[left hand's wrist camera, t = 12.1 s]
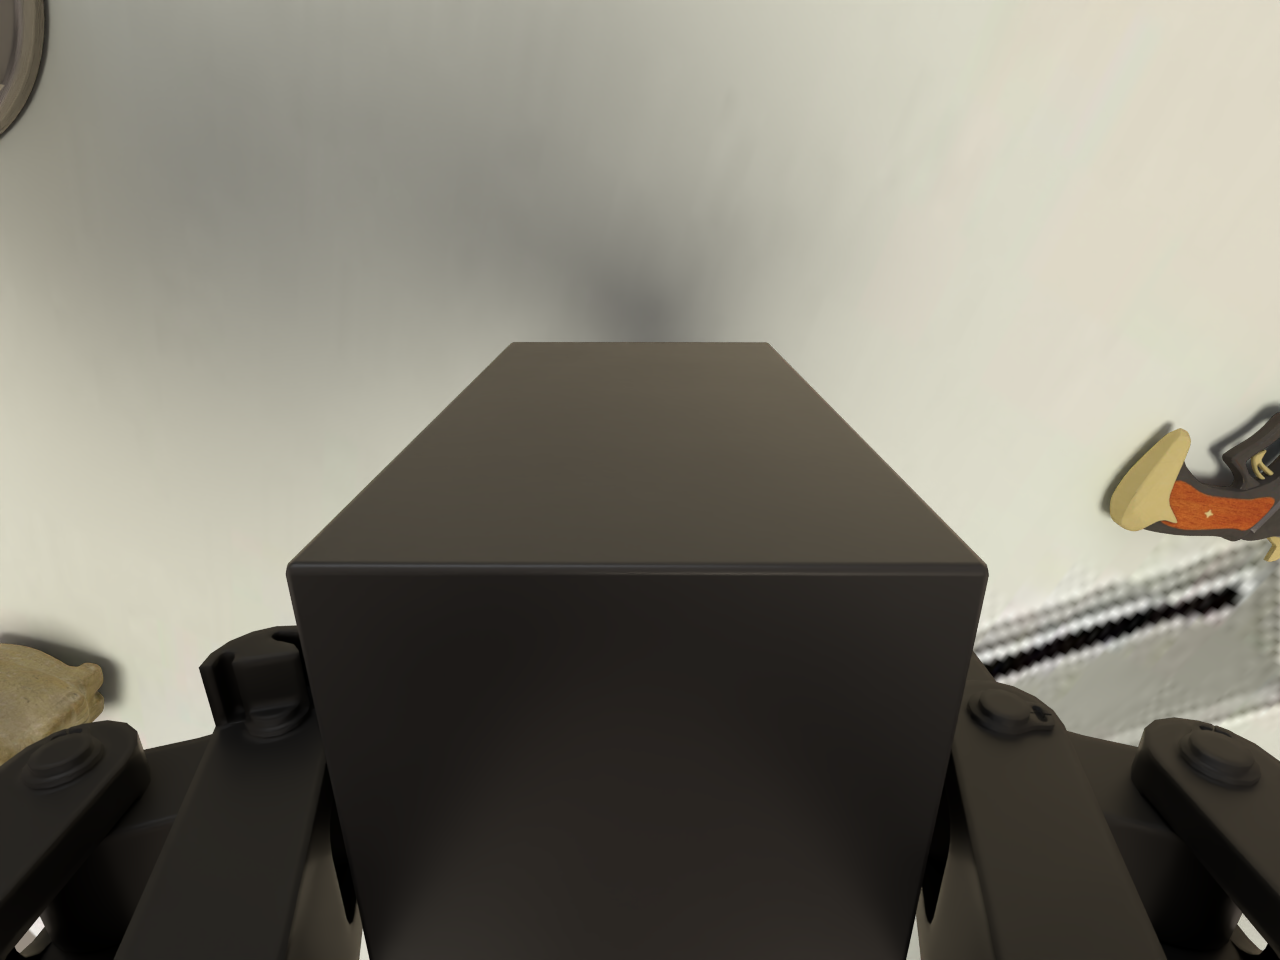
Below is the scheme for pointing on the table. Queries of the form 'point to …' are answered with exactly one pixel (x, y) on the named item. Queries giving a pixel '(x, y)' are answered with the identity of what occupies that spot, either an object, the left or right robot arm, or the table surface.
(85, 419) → the table surface
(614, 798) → the bar
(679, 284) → the table surface
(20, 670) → the sculpture
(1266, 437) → the toy gun
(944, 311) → the table surface
